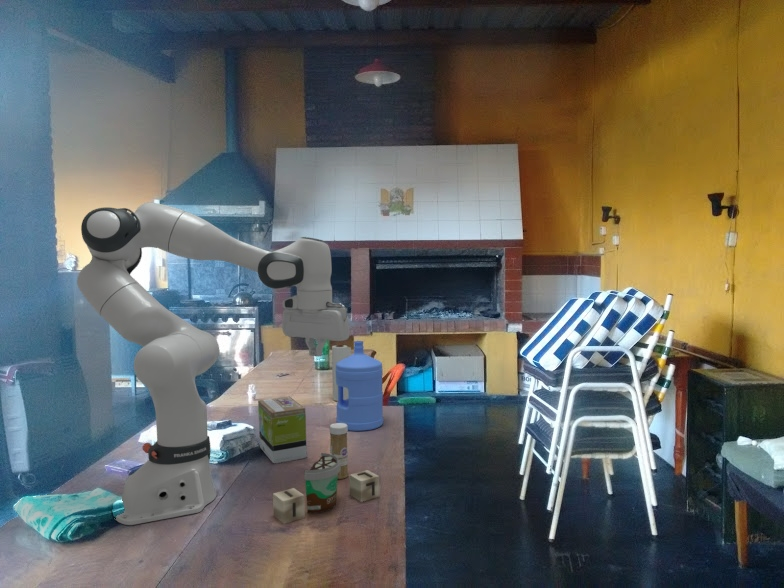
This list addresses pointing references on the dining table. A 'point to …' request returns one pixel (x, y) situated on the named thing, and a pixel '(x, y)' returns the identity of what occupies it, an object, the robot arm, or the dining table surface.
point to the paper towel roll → (337, 355)
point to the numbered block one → (288, 505)
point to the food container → (322, 484)
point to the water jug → (360, 391)
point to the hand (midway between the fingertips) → (315, 355)
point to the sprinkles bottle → (339, 446)
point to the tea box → (282, 429)
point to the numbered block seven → (364, 485)
